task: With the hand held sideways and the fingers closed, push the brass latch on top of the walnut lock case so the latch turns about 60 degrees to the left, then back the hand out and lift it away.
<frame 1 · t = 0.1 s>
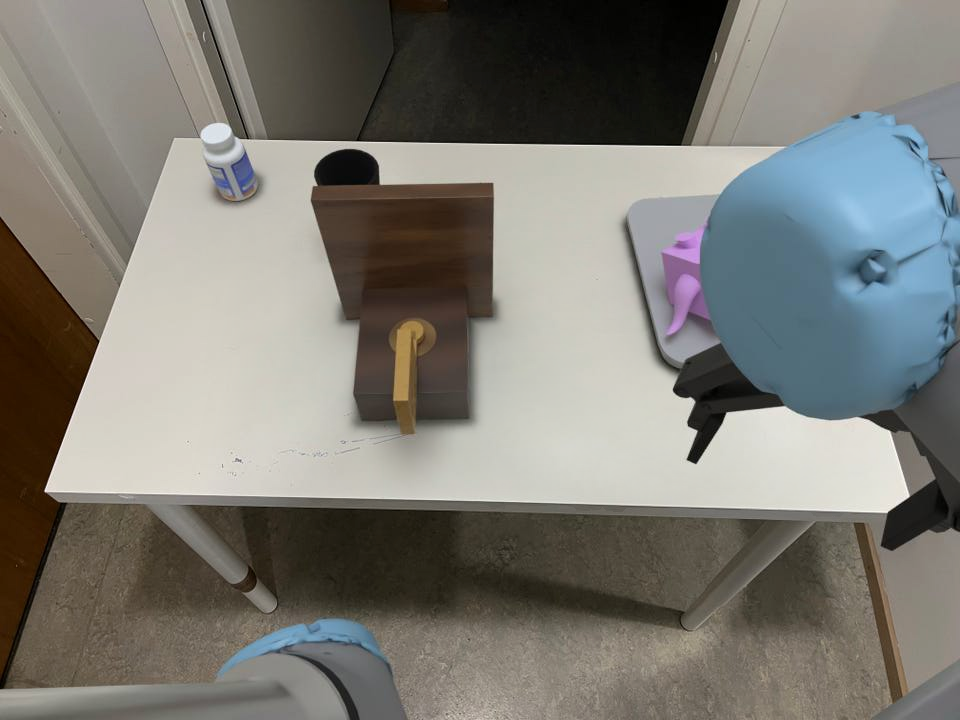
hand: (789, 488, 48), 22 cm above the table, tool pointing down, fingers open, 13 cm apart
cup: (362, 240, 91), on the table
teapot: (720, 231, 75), point 12 cm above the table, touching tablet
lock case: (417, 366, 80), on the table
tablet: (702, 284, 86), on the table, touching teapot
pill bottle: (239, 189, 96), on the table
latch: (407, 359, 69), point 10 cm above the table, hinge at 0.0°
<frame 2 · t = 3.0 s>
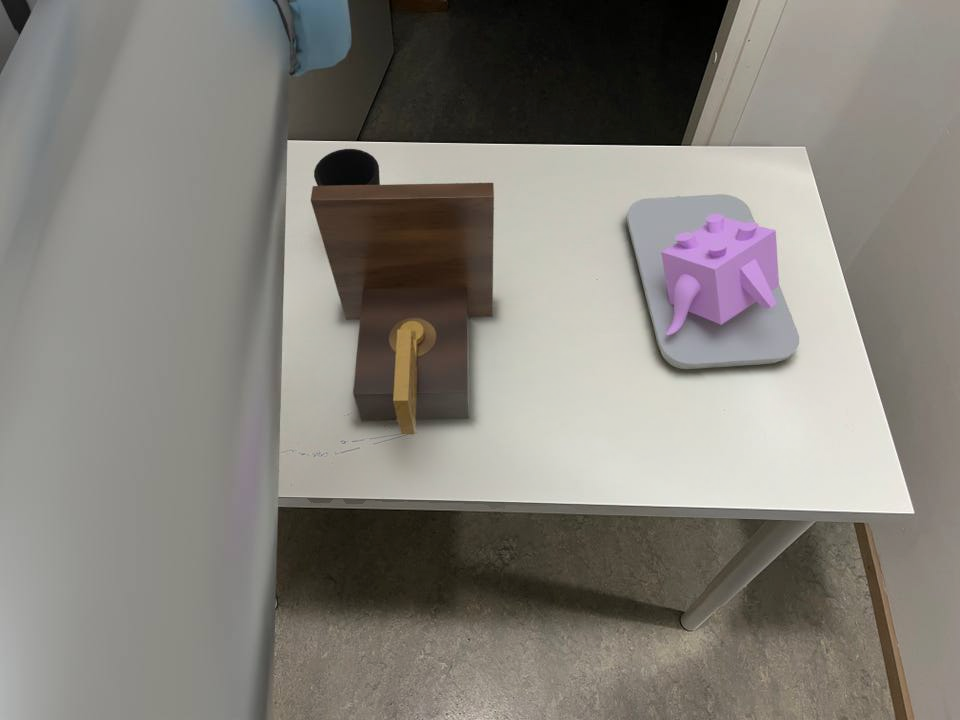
hand: (180, 296, 57), 23 cm above the table, tool pointing down, fingers open, 13 cm apart
nothing on the table moved.
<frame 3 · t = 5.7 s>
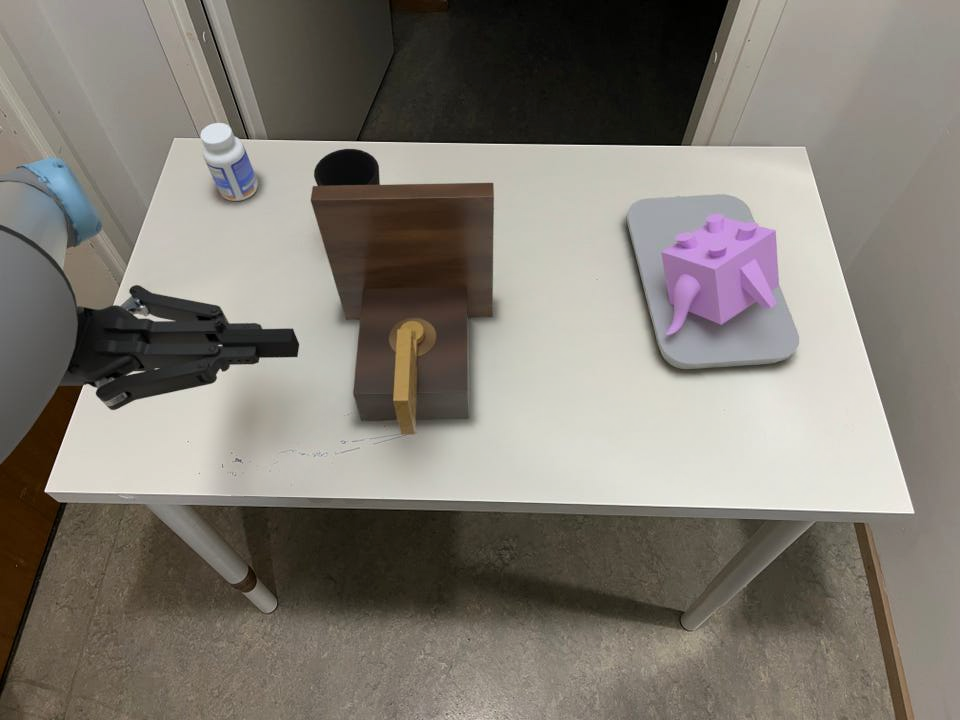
hand: (294, 343, 65), 14 cm above the table, tool horizontal, fingers closed
nothing on the table moved.
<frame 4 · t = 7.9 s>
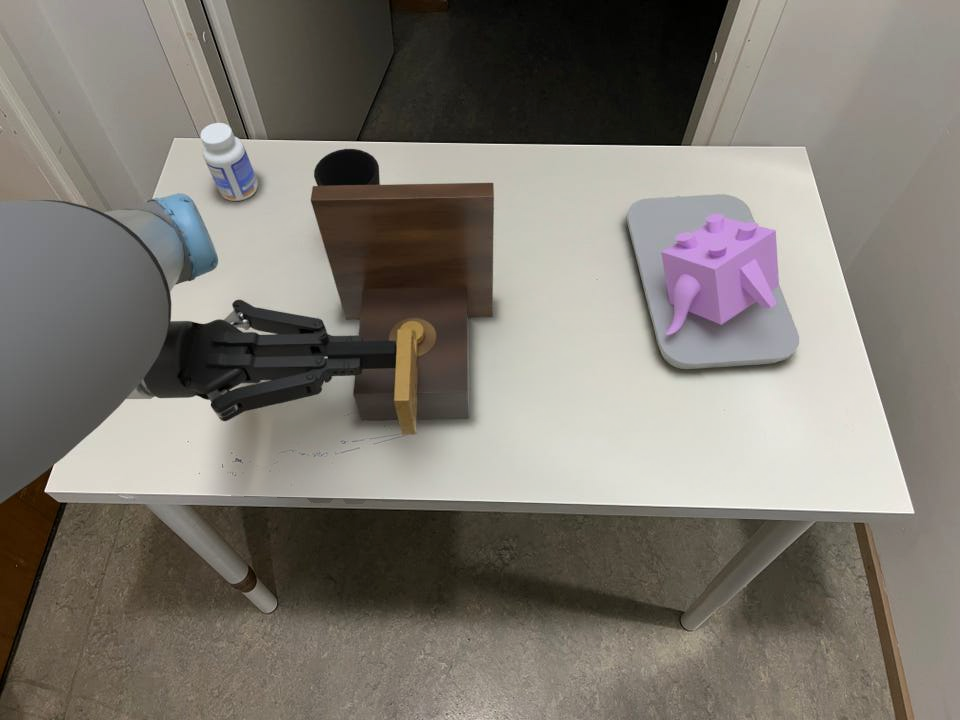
hand: (396, 354, 67), 12 cm above the table, tool horizontal, fingers closed
latch: (407, 359, 69), point 10 cm above the table, hinge at 0.4°, touching gripper
everything else where it was.
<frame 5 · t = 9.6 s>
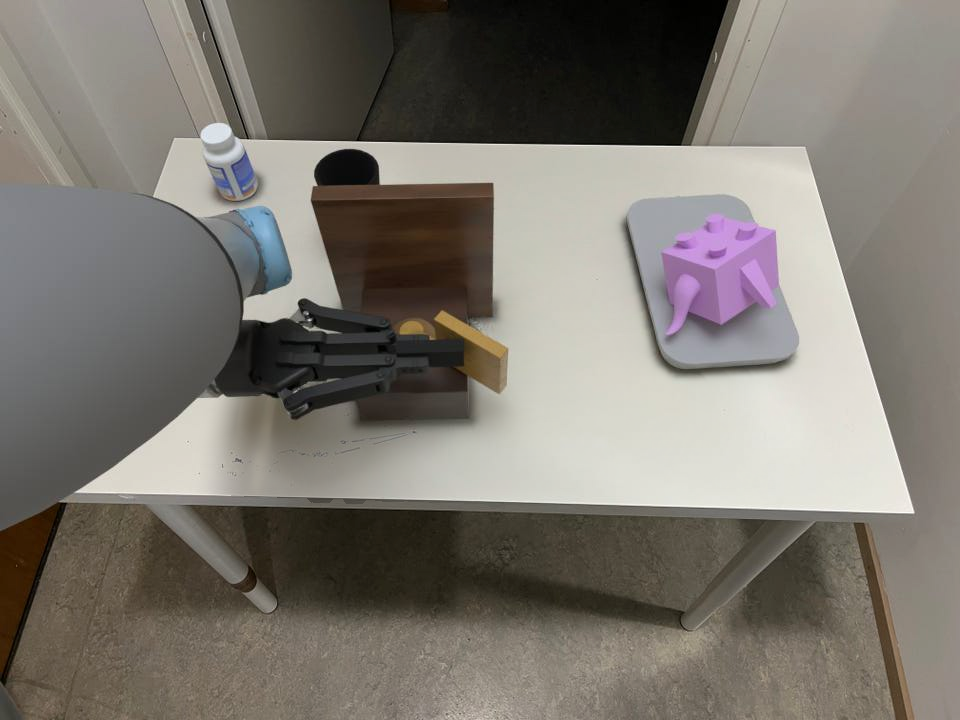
hand: (463, 352, 67), 12 cm above the table, tool horizontal, fingers closed
latch: (450, 340, 70), point 10 cm above the table, hinge at 53.9°, touching gripper
everything else where it was.
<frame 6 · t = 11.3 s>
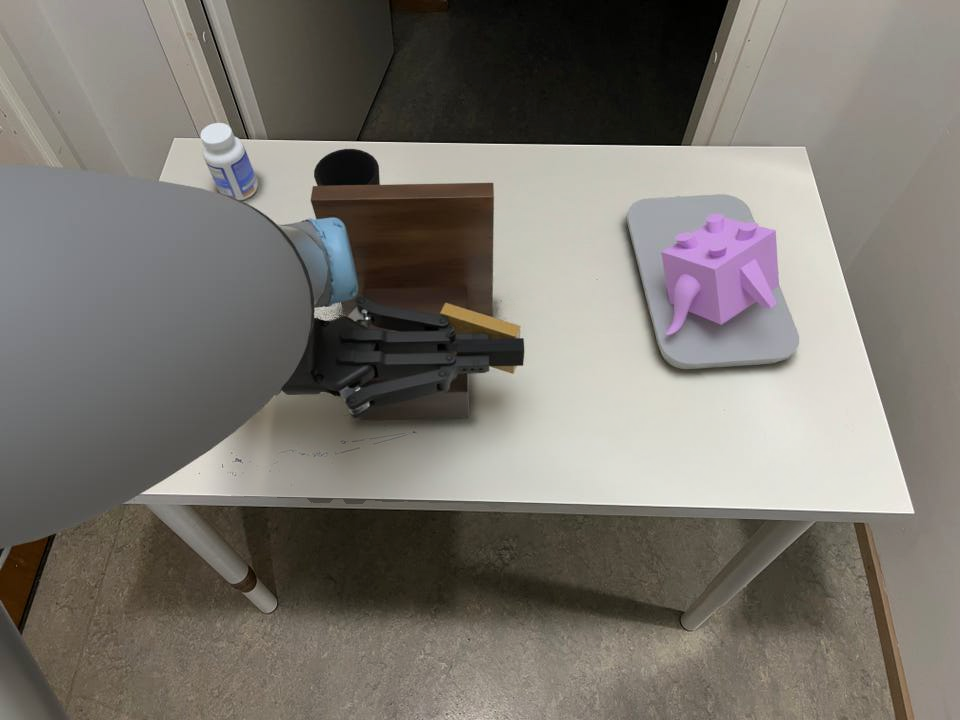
hand: (523, 352, 67), 12 cm above the table, tool horizontal, fingers closed
latch: (456, 331, 71), point 10 cm above the table, hinge at 67.7°, touching gripper, hand
everything else where it was.
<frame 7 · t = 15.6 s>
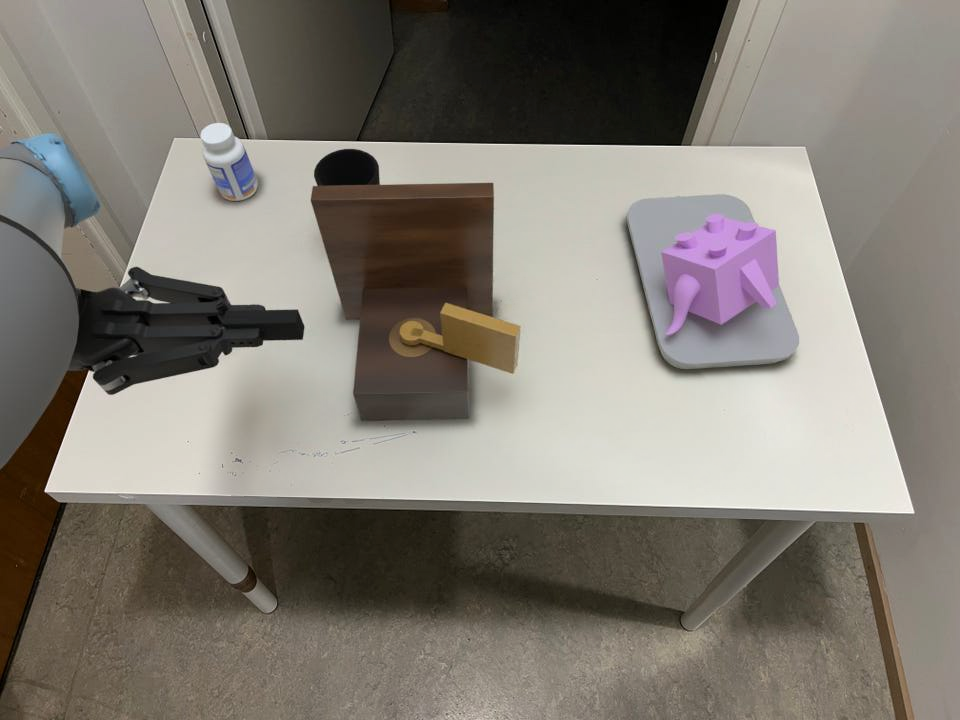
hand: (300, 324, 62), 17 cm above the table, tool horizontal, fingers closed
latch: (456, 331, 71), point 10 cm above the table, hinge at 67.7°
everything else where it was.
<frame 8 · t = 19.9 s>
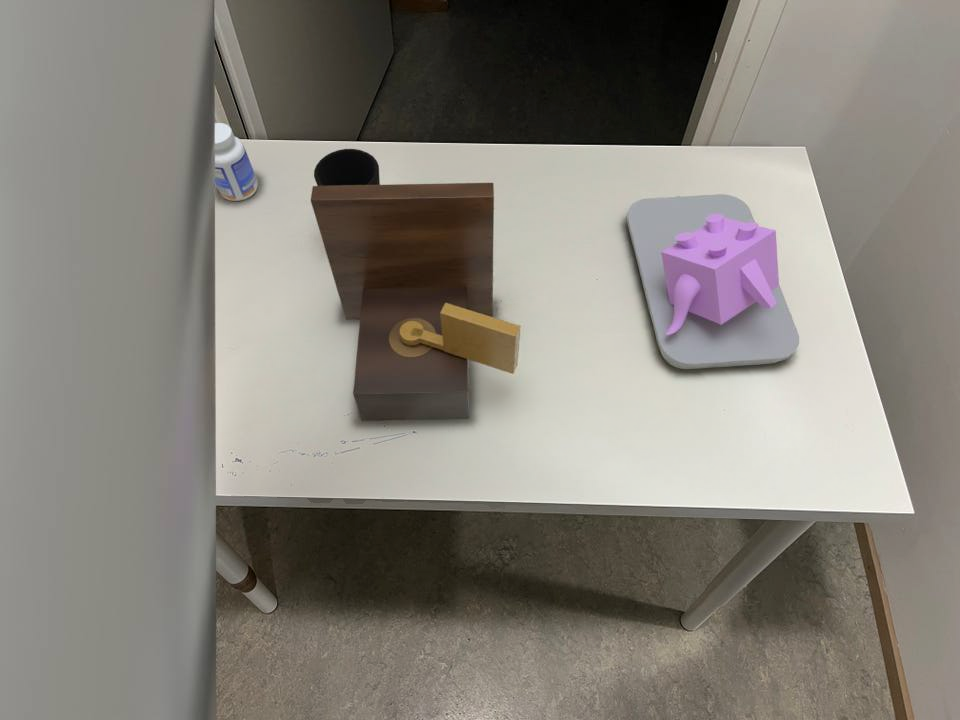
hand: (142, 322, 51), 26 cm above the table, tool pointing down, fingers closed
nothing on the table moved.
at the end: latch at +68° (first picture: +0°); pill bottle moved 0.2 cm from its start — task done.
